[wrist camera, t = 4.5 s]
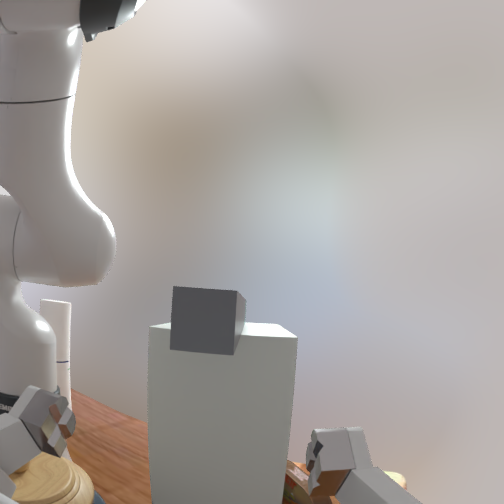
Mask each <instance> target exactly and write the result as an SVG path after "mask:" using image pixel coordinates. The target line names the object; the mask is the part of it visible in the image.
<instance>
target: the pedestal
mask: <svg viewBox="0 0 504 504" xmlns="http://www.w3.org/2000/svg"><path fill="white" fill-rule="evenodd" d="M170 331H171V323H166V324H161V325H156V326H150V327H149V346H148V448H149V468H150V484H151V496H152V504H282V498H283V490H284V482H285V474H286V465H287V455H288V447H289V437H290V427H291V416H292V406H293V395H294V383H295V370H296V356H297V341H298V340H297V339H298V338H297V337H296V336H295V335H293V334H292V333H290V332H289V331H287V330H286V329H284V328H283V327H281V326H280V325H278V324H260V323H245V325H244V328H243V330H242V333H241V336H240V339H239V341H238V344H237V347H236V350H235V353H234V355H220V354H208V353H197V352H187V351H178V350H170Z"/></svg>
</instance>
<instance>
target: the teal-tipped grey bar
mask: <svg viewBox="0 0 504 504" xmlns="http://www.w3.org/2000/svg"><path fill="white" fill-rule="evenodd" d="M245 314H246V300H245V299H244V298H243V297H242V295H241V294H240V293H239V292H237V291H232V290H215V289H203V288H189V287H177V286H174V287H173V299H172V313H171V331H170V350H178V351H187V352H197V353H208V354H220V355H234V353H235V350H236V347H237V344H238V341H239V339H240V336H241V333H242V330H243V328H244V325H245Z"/></svg>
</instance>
